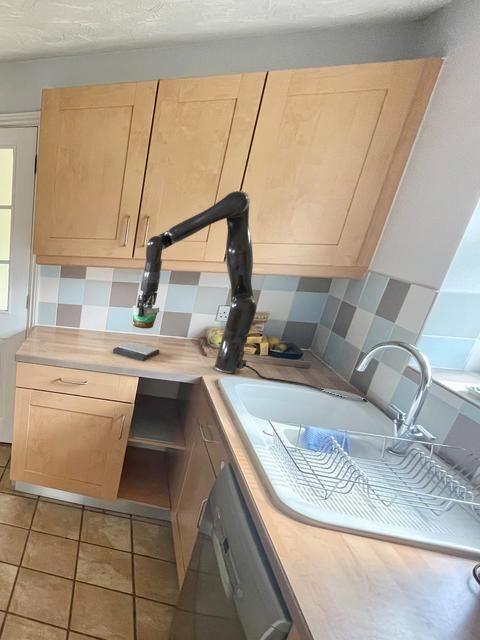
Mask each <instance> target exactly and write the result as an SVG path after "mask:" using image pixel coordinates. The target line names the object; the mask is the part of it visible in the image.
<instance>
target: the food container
mask: <svg viewBox="0 0 480 640" xmlns="http://www.w3.org/2000/svg"><path fill="white" fill-rule="evenodd" d="M131 309H132V311H133V314H132V326H133V327H135V328H139V329H146V330H147V329H148V330H149V329H152V328H154V325H155V321H156V318H157V315H158V313H160V307H159V306H158V307H155V308H154V307H152V308H149V307H147V306H145V309H144V314H143V317H138V313H139V308H137V305H135V304H134V305H133V306H132V308H131Z"/></svg>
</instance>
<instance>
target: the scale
mask: <svg viewBox="0 0 480 640" xmlns="http://www.w3.org/2000/svg"><path fill="white" fill-rule="evenodd" d="M112 349H113V350H112V354H116V355H119V356H123V357H126V358H129V359H133V360H136V361H140V362H146V361H147V360H148V359H151V358H153V357H156V356H157V355H159V354H160V349H159V348H156V347H153V346H148V345H144V344H140V343H136V342H132V341H128V342H126V343H123V344H121V345H118V346H116V347H114V348H112Z"/></svg>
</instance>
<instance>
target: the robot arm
mask: <svg viewBox="0 0 480 640" xmlns="http://www.w3.org/2000/svg"><path fill="white" fill-rule="evenodd" d="M250 203H251V198H250V196H249V194H248V193H247V192H245V191H244V190H234V191H231V192H229V193H228V194H226V195H225V196H224V197H223V198H222V199H220V200H218V201H217V202H216V203H215V204H213V205H212V206H210V207H208V208H206V209H204V210H203V211H201V212H199V213H197V214H195V215H193V216H191V217H189V218H186V219H185V220H183V221H181V222H179V223H176V224H175V225H173V226H171V227H170V228H169V229H168V230H166V231H164V232H162V233H160V234H158V235H154V236H151V237H150V238H149V239H148V241H147V242H146V249H145V264H144V270H143V273H142V276H141V277H142V279H141V284H140V291H141V292H142V293H141V295H140V294H139V295H138V297H137V303H136V306H137V308H139V313H138V317H143V314H144V309H145V307H149V308H154V306H155V305H156V301H157V296H158V291H159V285H160V280H161V272H162V265H163V259H162V254H163V251H164V250H166V249H167V248H170V247H171V246H173V245H174V244H176V243H179V242H181V241H183V240H185V239H188V238H189V237H191V236H193V235H195V234H197V233H198V232H200V231H202V230H204V229H205V228H208V227H209V226H211V225H213V224H215V223H218V222H219V221H222V220H226V226H227V234H226V241H225V242H226V243H225V260H226V261H225V264H226V269H227V270H226V271H227V275H228V279H229V282H230V304H229V311H228V315H227V319H226V323H225V326H224V329H223V332H222V337H221V340H220V345H219V348H218V351H217V356H216V359H215V363H214V366H213V369H214V370H215V371H218V372H220V373H224V374H230V375H231V374H232V375H236V374H237V373H239V372H240V370H242V369H244V368H245V367H246V368H248V369H249V370H250V371H252V372H254V373H255V374H256V375H257V376H258V377H259V378H261V379H264V380H267V381H277V382H284V383H290V384H294V385H301V386H305V387H309V388H312V389H315V390H317V391H321V392H324V393H326V394H330V395H333V396H336V397H340V398H344V399H346V398H345V397H342V396H339V395H335V394H332V393H329V392H325V391H322V390H324V389H325V388H321V387H318V386H315V385H311V384H307V383H304V382H300V381H294V380H286V379H281V378H273V377H267V376H264V375H261V374H260V373H259V372H258V370H257V369H255V368H254V367H251V366H250V365H247V360H245V359H244V356H245V353H246V351H245V348H246V344H247V341H248V337H249V334H250V331H251V329H252V326H253V323H254V320H255V317H256V313H257V309H258V308H257V303H256V300H255V297H254V292H253V285H252V279H253V269H254V255H253V243H252V237H251V236H252V235H251V232H250V231H251V230H250V222H249V219H250V217H249V216H250ZM359 396H360V395H359ZM360 397H362V396H360ZM362 401H363V402H365V403H368V399H366V398H365V399H363V400H362Z"/></svg>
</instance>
